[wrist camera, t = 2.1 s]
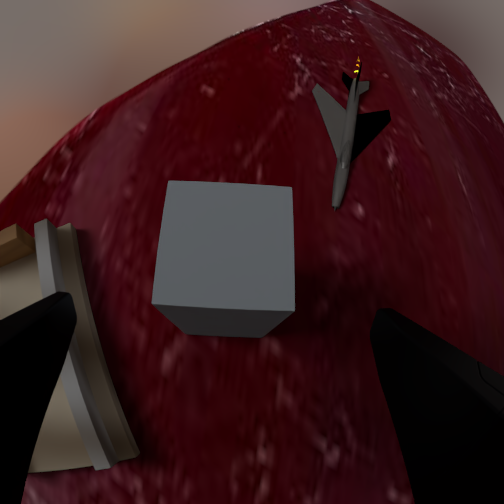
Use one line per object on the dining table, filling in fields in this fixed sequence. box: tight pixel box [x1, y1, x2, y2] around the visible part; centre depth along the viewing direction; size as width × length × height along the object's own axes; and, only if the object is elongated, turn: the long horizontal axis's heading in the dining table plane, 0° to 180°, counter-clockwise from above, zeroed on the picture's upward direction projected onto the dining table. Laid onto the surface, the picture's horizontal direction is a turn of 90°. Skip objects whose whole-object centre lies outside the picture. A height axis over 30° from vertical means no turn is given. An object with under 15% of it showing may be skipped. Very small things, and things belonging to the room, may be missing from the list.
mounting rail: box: [0, 219, 140, 473], centre depth 14 cm, size 15×11×4 cm
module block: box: [152, 181, 295, 338], centre depth 15 cm, size 5×4×9 cm
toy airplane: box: [312, 62, 391, 209], centre depth 25 cm, size 8×21×2 cm, turn 163°
